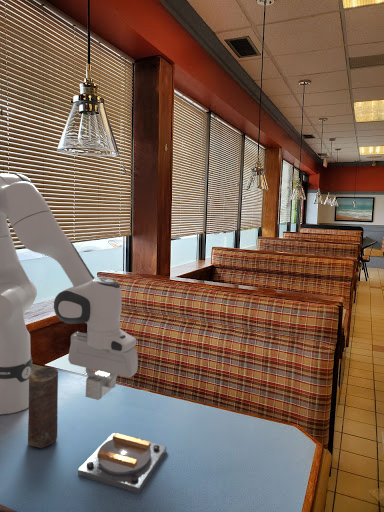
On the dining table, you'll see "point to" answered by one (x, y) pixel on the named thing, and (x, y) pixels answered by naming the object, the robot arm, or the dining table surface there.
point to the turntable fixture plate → (123, 462)
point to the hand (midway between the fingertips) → (101, 384)
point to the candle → (43, 407)
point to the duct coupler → (98, 385)
